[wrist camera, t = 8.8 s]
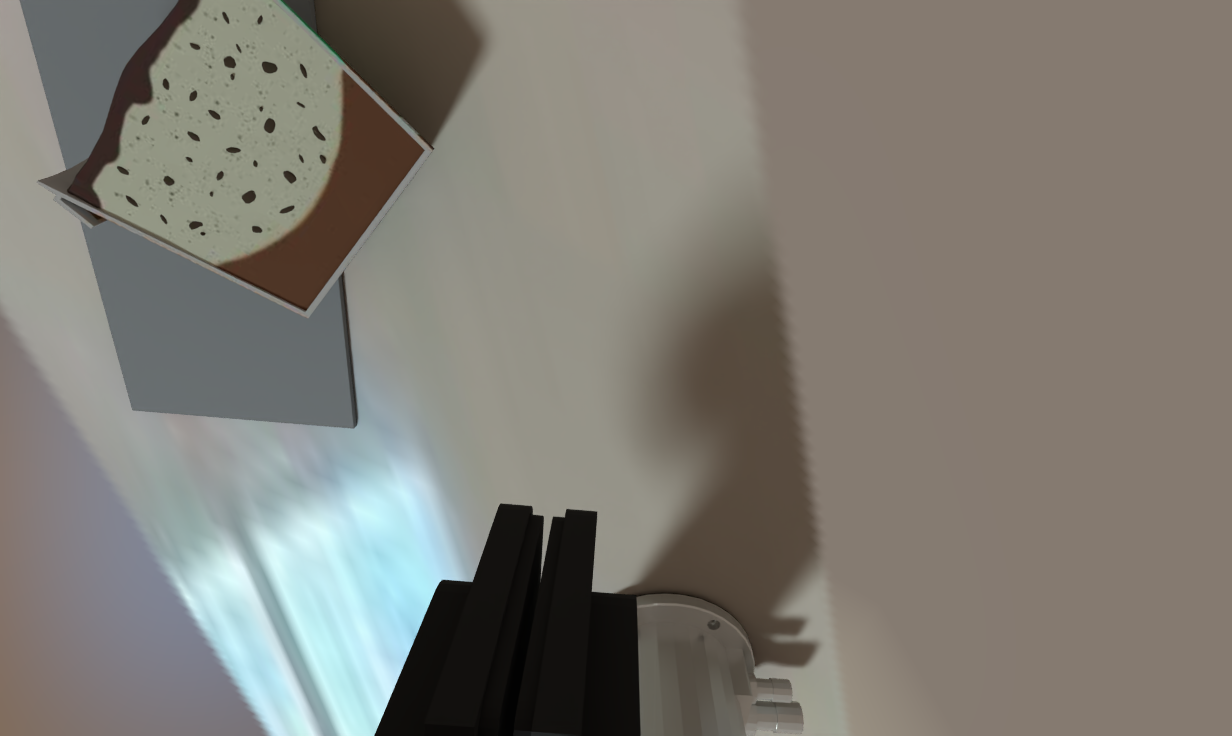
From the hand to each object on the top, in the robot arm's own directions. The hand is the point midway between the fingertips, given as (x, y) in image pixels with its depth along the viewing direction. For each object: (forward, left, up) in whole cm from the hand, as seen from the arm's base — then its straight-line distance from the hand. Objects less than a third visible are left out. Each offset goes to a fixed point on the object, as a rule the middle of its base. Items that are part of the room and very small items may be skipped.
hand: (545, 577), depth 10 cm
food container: (+10, -2, -20) cm, 22 cm away
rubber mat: (+19, -1, -22) cm, 29 cm away
